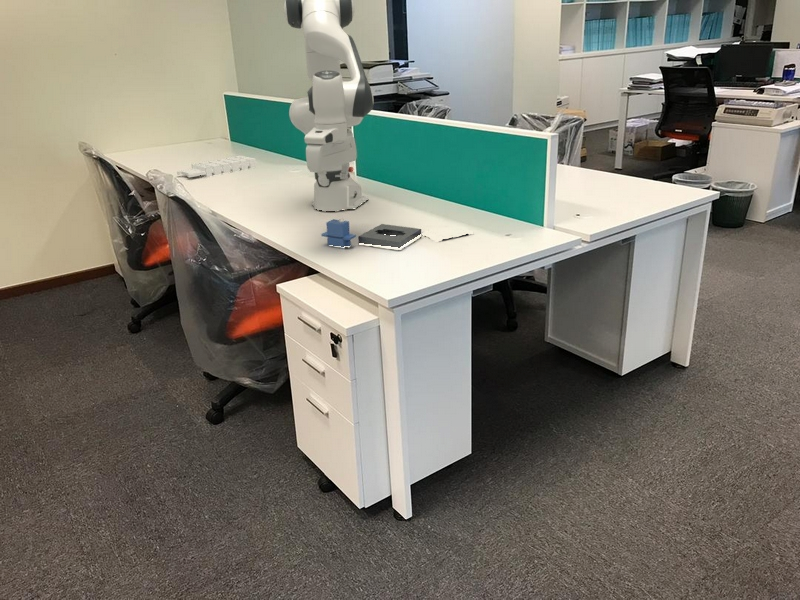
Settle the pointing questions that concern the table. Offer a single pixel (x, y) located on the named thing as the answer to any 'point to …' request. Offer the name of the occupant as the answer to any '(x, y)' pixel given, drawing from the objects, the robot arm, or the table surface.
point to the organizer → (220, 166)
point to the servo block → (338, 233)
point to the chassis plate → (378, 237)
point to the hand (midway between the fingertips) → (334, 182)
